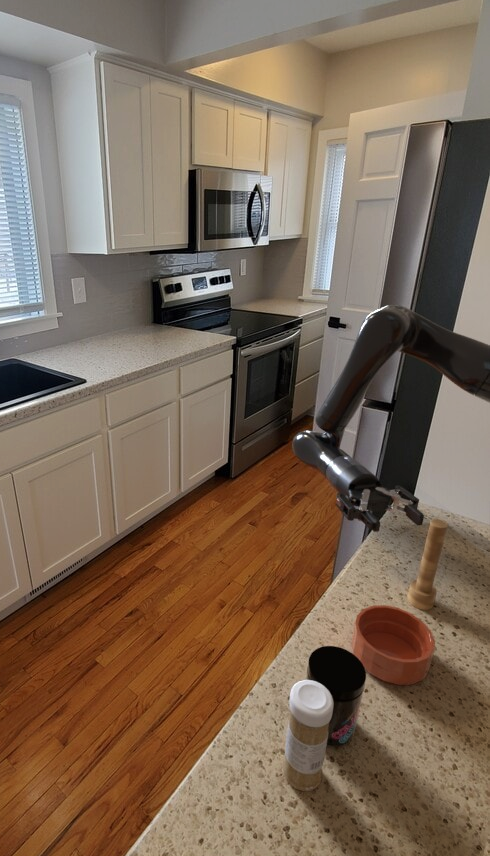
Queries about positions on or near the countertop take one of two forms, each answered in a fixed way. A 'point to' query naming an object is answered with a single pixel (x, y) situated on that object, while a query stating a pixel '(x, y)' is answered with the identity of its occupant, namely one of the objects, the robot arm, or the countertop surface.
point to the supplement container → (339, 689)
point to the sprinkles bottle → (307, 734)
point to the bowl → (393, 644)
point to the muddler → (428, 567)
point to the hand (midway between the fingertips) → (399, 524)
